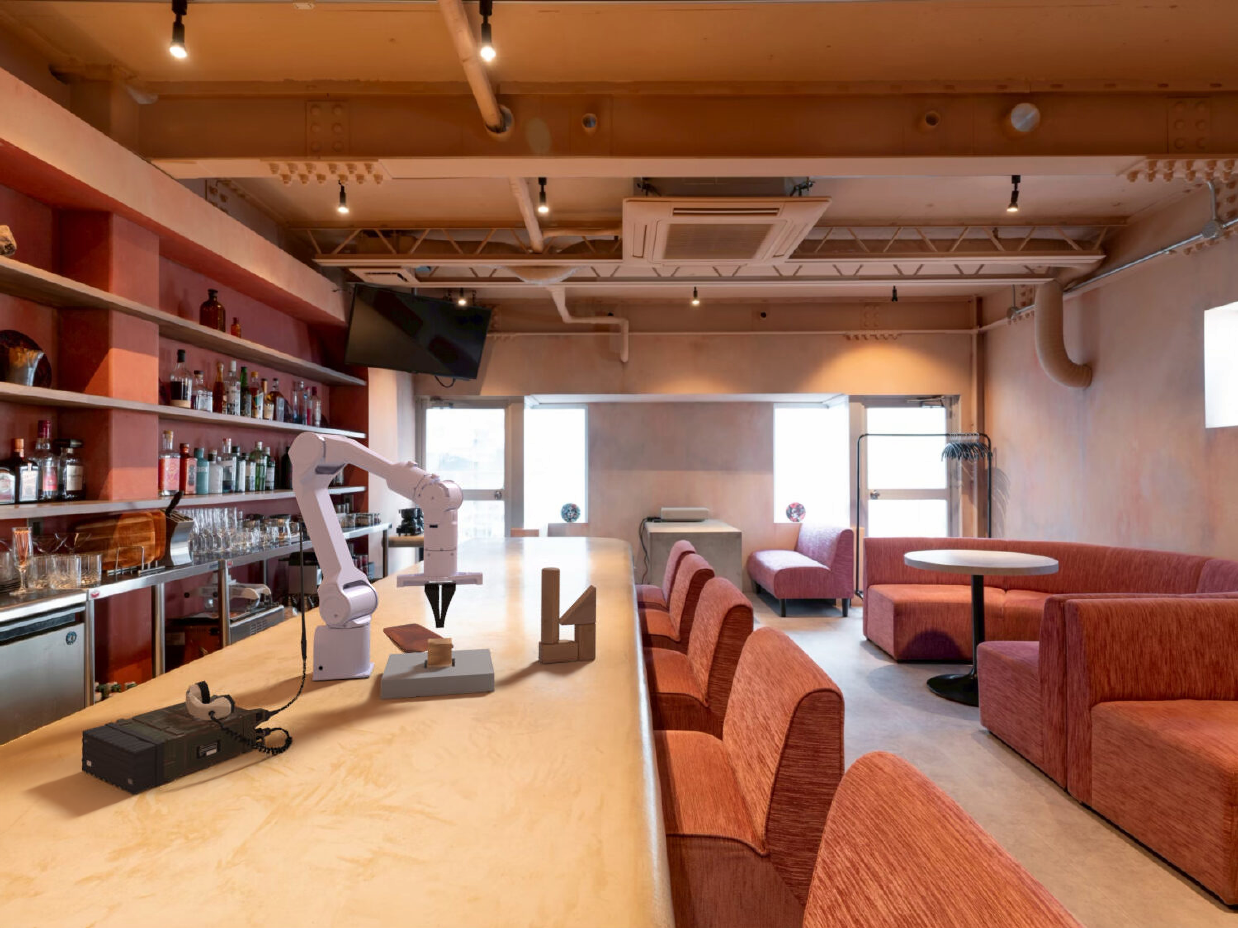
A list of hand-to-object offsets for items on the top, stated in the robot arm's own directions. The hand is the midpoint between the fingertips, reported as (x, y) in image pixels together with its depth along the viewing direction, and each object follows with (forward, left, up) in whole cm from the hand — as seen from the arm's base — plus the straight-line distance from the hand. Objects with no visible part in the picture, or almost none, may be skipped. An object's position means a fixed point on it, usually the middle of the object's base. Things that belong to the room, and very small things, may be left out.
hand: (439, 626), depth 118 cm
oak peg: (0, 0, -9) cm, 9 cm away
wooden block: (+24, +8, -10) cm, 27 cm away
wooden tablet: (-6, +33, -10) cm, 35 cm away
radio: (-28, -24, -10) cm, 39 cm away
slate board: (0, 0, -9) cm, 9 cm away
